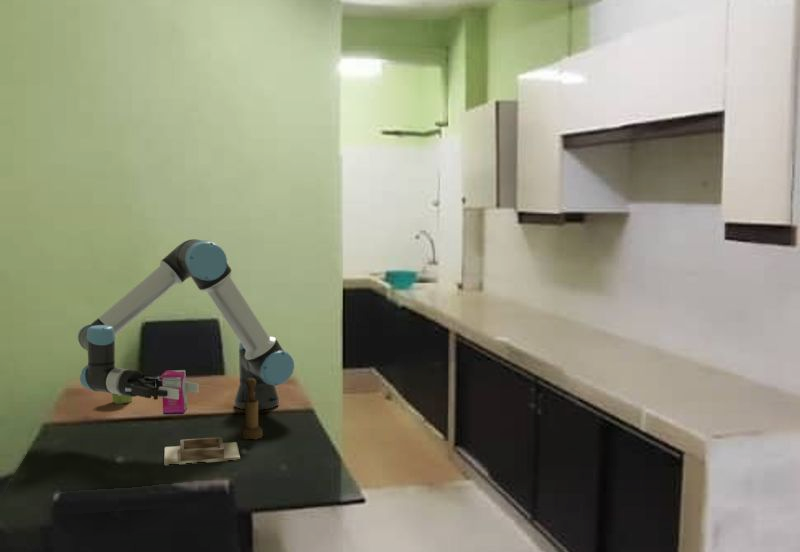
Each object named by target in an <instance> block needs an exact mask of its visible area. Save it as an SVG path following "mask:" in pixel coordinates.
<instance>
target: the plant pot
mask: <svg viewBox="0 0 800 552" xmlns="http://www.w3.org/2000/svg"><path fill="white" fill-rule="evenodd" d="M111 396H112V402H113V403H114V404H116V405H117V404H118V405H122V404H124V403H126V404H130V403H131V402H132V401H133V397H132V396H126V395H121V396H118V394H114V393H111Z"/></svg>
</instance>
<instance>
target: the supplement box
mask: <svg viewBox="0 0 800 552" xmlns="http://www.w3.org/2000/svg"><path fill="white" fill-rule="evenodd" d="M186 372H187V371H186V370H185V369H179V370H177V369H176V370H164V372H163V373H162V374H161V377H162V387H166V388H173V389H179V399H178V400H176V399H170V398H163V397H161V398H162V414H163V415H169V416H171V415H184V414H185V413H186V411H187V410H188V400H187V399H188V398H187V396H188V395H187V392H186V382H187V375H186Z"/></svg>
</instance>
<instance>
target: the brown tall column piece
mask: <svg viewBox="0 0 800 552" xmlns="http://www.w3.org/2000/svg"><path fill="white" fill-rule="evenodd" d="M246 385H247V387H248V388H249V392H248V397H249V399H248V400H245V410H244V426H243V427H242V428H241V429H240V438H241V439H242V438H244V439H243V440H247V439H254V440H257V439H256V438H260V437H262V436H264V433H263V432H264V431H263V428H262V427H261V426H260V425H259V410H258V400H256V399H254V397H255V392H254V387H255V386H256V380H255V379H254V378H248V379H247V381H246ZM262 438H263V437H262ZM260 439H261V438H260Z"/></svg>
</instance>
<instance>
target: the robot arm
mask: <svg viewBox="0 0 800 552" xmlns="http://www.w3.org/2000/svg"><path fill="white" fill-rule="evenodd" d="M159 263H160V264H159V266H157V268H155V270H153V271H152V272H151V273H150V274H148V276H146V277H145V278H144V279H142V281H140V282H139V283H138V284H137V285H136V286H135V287H133V288H132V289H131V290H130V291H128V292H127V293H126V294H125V295H123V297H121V298H120V299H119V300H118V301H117V302H115V303H114V304H113V305H112V306H111V307H109V308H108V309H107V310H106V311H105V312H104V313H103V314H101V315H99V317H98V318H96V319H95V320H94V321H93V322H92V323H90V324H87V325H84V326H82V327H81V328H79V329H80V330H79V331H78V334H77V340H78V343H79V345H80V347H81V348H82V349H84V350H86V351H87V365H85V366H84V367H83V368H82V370H81V374H80V375H79V380H80V384H81V385H82V387H84V388H85V389H87V390H91V391H94V392H97V393H98V392H100V393H106V394H107V393H109V394H112V393H114V394H118V396H121V395H126V396H132V398H133V397H134V398H135V397H141V398H142V397H143V398H146V399H151V398H152V397H153V400H154V401H155V400H156V401H157V400H158V399H159V398H162V397H163V398H170V399H176V400H178V399H179V389H173V388H166V387H162V375H157V376H156V377H151V376H145V375H144V373H143V372H142V371H139V370H136V369H129V368H121V367H116V356H115V355H116V353H115V352H116V351H115V349H116V348H115V345H116V344H115V339H116V335H117V334H119V333H120V332H121V331H123V330H124V329H125V328H126V327H127V326H128V325H129V324H130V323H132V322H133V321H134V320H136V319H137V318H138V317H139V316H140V315H142V313H143V312H144V311H146V310H147V309H148V308H150V306H152V305H153V304H154V303H155V302H157V300H158V299H160V298H161V297H163V296H164V295H165V294H166V293H167V292H168V291H170V289H172V288H173V287H174V286H175V285H179V284H180V285H181V284H182V283H183V282H184V281H186V280H187V279H189V278H191V280H192V281H193V282H194V283H195V285H196V287H197V288H198V290H199V291H203V292H206V293H207V294H208V296H209V297H210V298H211V300H212V302H213V303H214V305H215V306H216V308H217V309H218V311H219V312H220V314H221V316H223V318H224V320H225V321H226V323H227V324H228V326H229V327H230V329H231V330H232V331H233V333H234V335H235V336H236V338H237V339H238V341H239V347H238V353H239V354H238V359H239V362H238V363H239V372H238V373H239V384H238V388H237V390H236V394H235V396H234V397H235V398H234V407H235V406H236V407H237V409H239V408H240V410H243V409H245V400H248V399H249V397H248V392H249V388H248V387H247V385H246V381H247V379H248V378H254V379H255V380H256V386H255V387H254V392H255V397H254V399H256V400H258V411H264V410H263V409H266V410H270V409H269V408H271V409H274V408H276V407H275V406H277V405H278V404H279V405H280V397H279V394H278V392H277V388H276V386H280V385H284V384H285V383H286V382H288V381H289V379H290V378H291V377H292V376H293V374H294V370H295V361H294V359H293V357H292V355H290V354H289V352H287V351H285V350H284V348H282V345H281V344H280V343H279V341H278V340H277V338H276V337H275V336H272V335H268V333H267V332H266V330H265V328H264V327H263V325H262V324H261V322H260V321H259V319H258V318H257V316H256V314H255V313H254V312H253V310H252V309H251V307H250V305H249V304H248V302H247V300H246V299H245V298H244V296H243V294H242V293H241V291H240V290H239V288H238V286H237V285H236V284H235V282H234V281H233V278H231V275H232V268H231V267H230V266H229V265H230V264H228V258H227V254H226V253H225V251H224V250H223V248H222V247H220V246H219V245H218V244H216V243H214V242H212V241H211V240H203V239H202V240H201V239H193V238H191V239H188V240H184V241H182V243H180V244H179V245H177V247H175V248H174V249H173V250H172V251H171V252H169V253H168V254H167V255H165V257H164V258H163V259H161V260H160V262H159ZM199 385H200V384H199V383H198V382H191V381H186V393H192V394H193V393H194V394H198V393H200V386H199ZM279 405H278V406H279ZM278 406H277V407H278ZM236 407H235V408H236ZM273 407H274V408H273Z"/></svg>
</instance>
